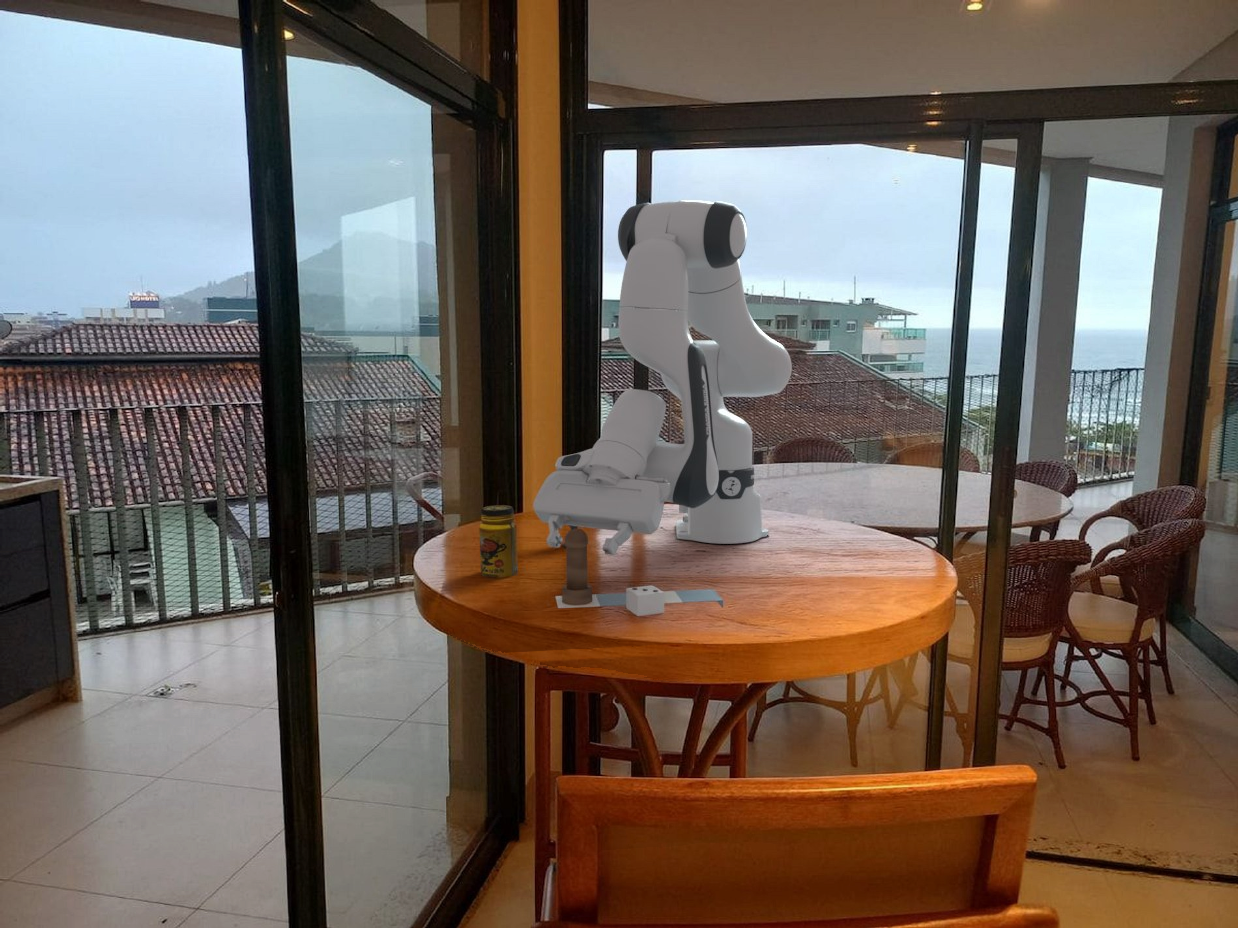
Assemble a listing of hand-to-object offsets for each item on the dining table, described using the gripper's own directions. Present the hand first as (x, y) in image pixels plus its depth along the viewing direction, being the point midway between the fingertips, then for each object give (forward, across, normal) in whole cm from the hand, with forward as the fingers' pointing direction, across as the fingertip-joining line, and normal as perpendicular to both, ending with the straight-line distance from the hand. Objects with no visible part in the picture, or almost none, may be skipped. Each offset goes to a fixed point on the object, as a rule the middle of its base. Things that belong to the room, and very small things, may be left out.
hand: (579, 548), depth 124 cm
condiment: (0, +20, -13) cm, 24 cm away
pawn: (+6, 0, -5) cm, 8 cm away
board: (+3, -7, -10) cm, 12 cm away
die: (+6, -11, -6) cm, 14 cm away
